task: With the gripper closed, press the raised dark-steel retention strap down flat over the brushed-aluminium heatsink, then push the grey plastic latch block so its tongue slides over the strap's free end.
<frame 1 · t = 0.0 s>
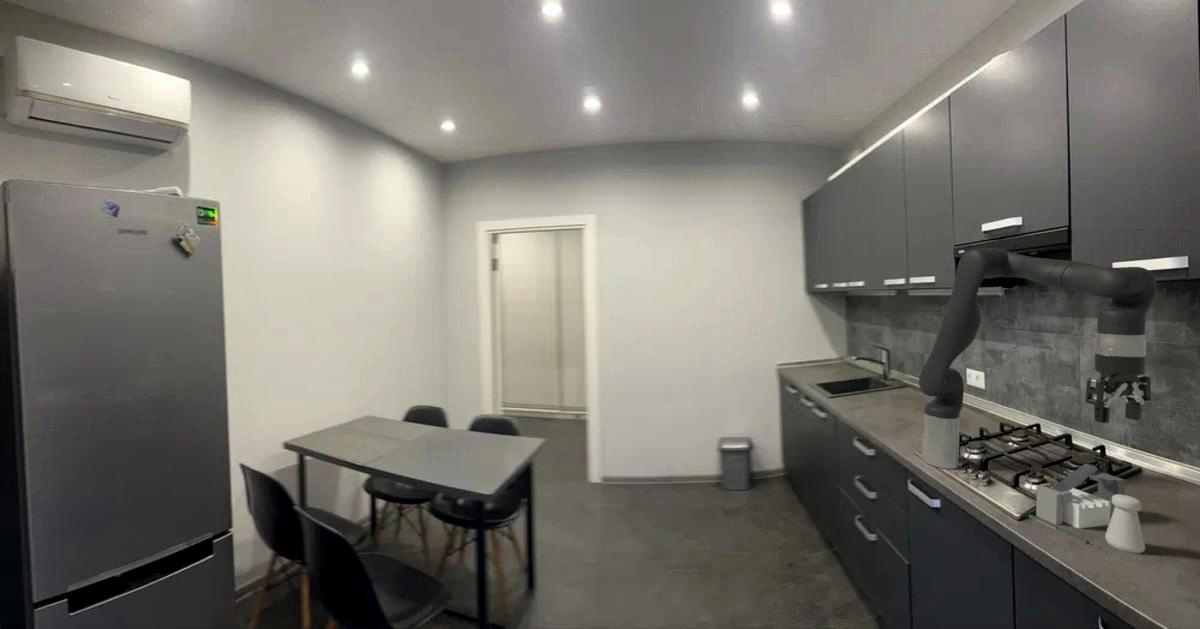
hand: (1117, 420, 99), 29 cm above the countertop, fingers open, 8 cm apart
latch: (1106, 495, 110), point 6 cm above the countertop, slide at 0.0 cm
salt shaker: (1124, 552, 97), on the countertop
strap: (1072, 480, 108), point 11 cm above the countertop, hinge at 30.0°
heatsink base: (1078, 521, 109), on the countertop
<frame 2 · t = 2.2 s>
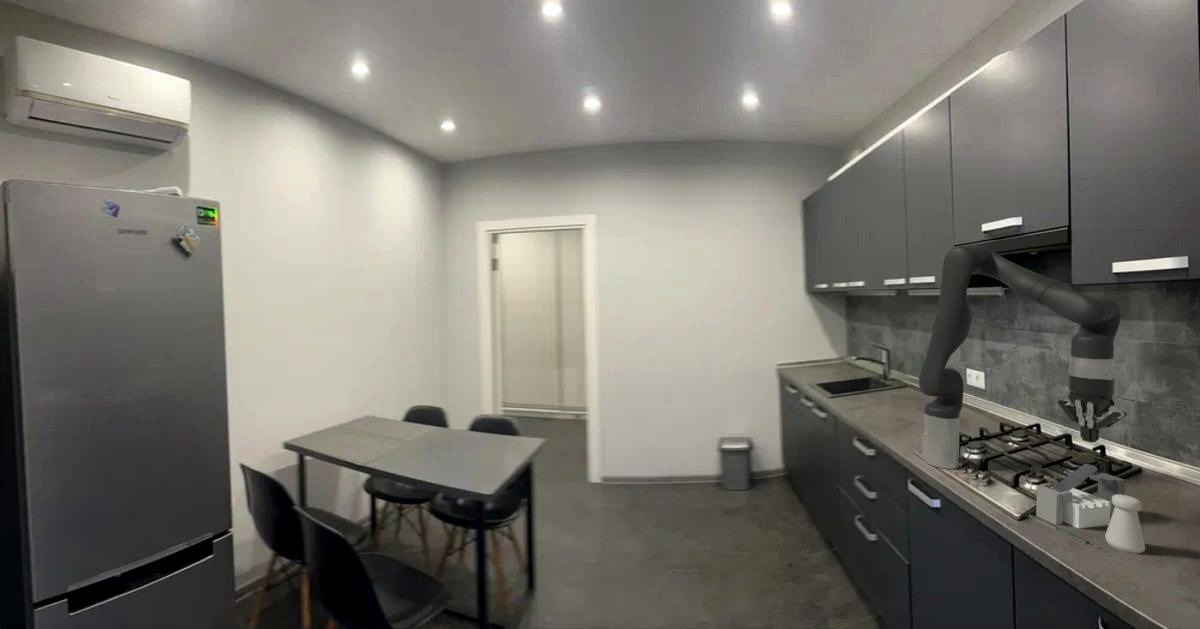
hand: (1089, 441, 108), 21 cm above the countertop, fingers closed
nothing on the countertop moved.
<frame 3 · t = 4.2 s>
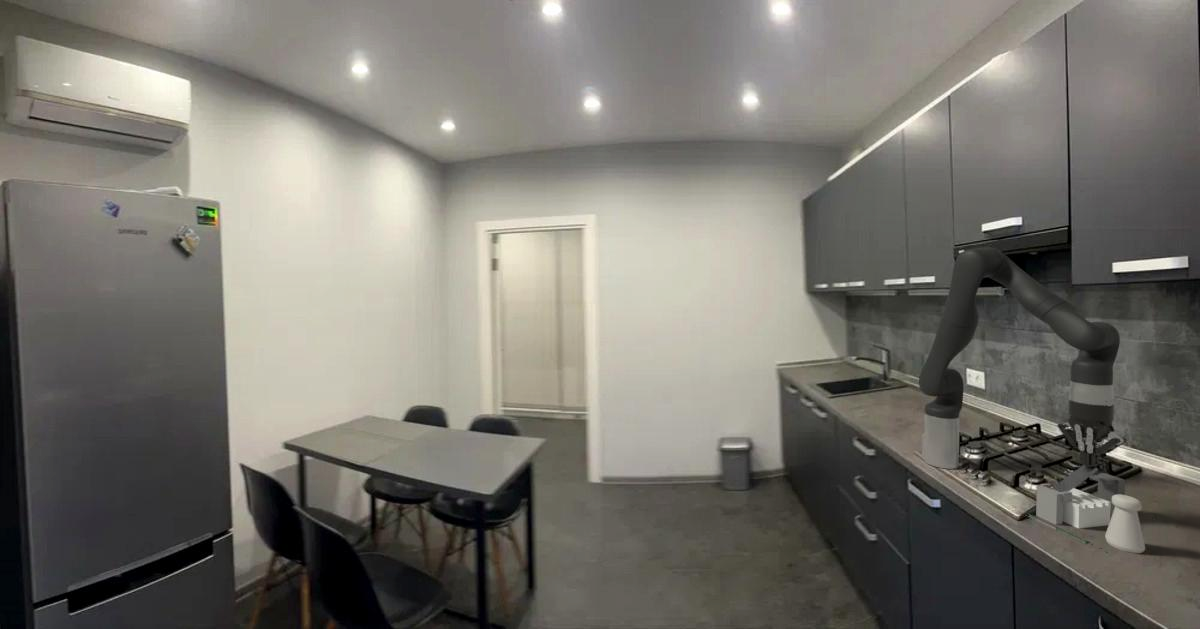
hand: (1089, 465, 108), 15 cm above the countertop, fingers closed
strap: (1072, 480, 108), point 11 cm above the countertop, hinge at 29.2°, touching gripper
everything else where it was.
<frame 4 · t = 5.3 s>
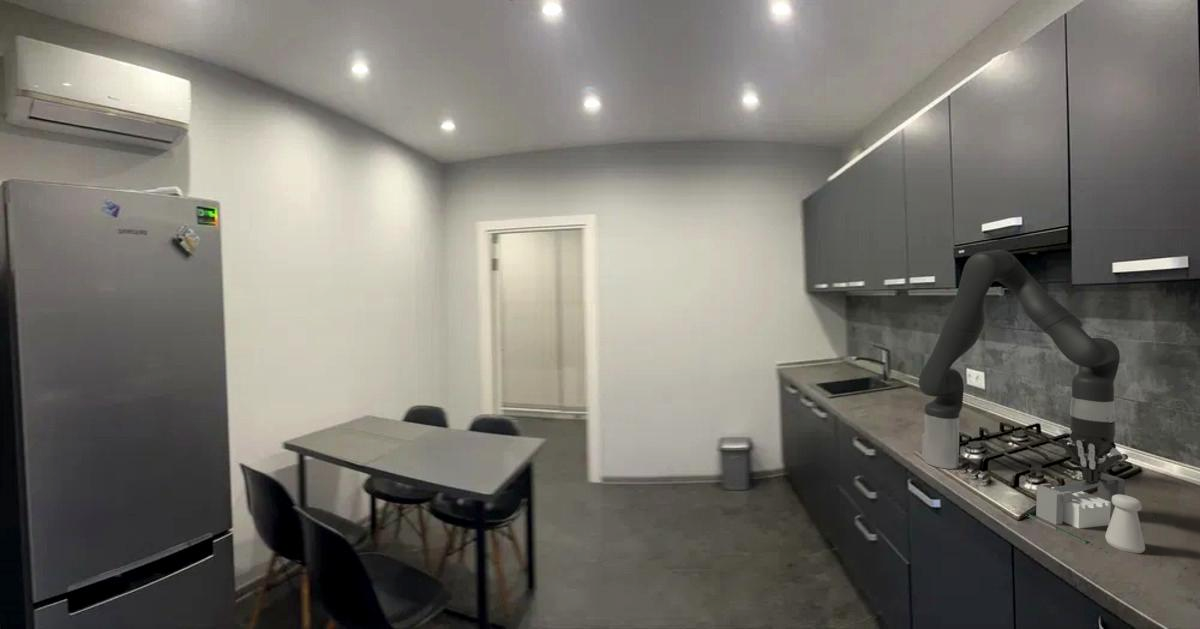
hand: (1091, 481, 109), 10 cm above the countertop, fingers closed
strap: (1074, 487, 108), point 9 cm above the countertop, hinge at 8.6°, touching gripper
everything else where it was.
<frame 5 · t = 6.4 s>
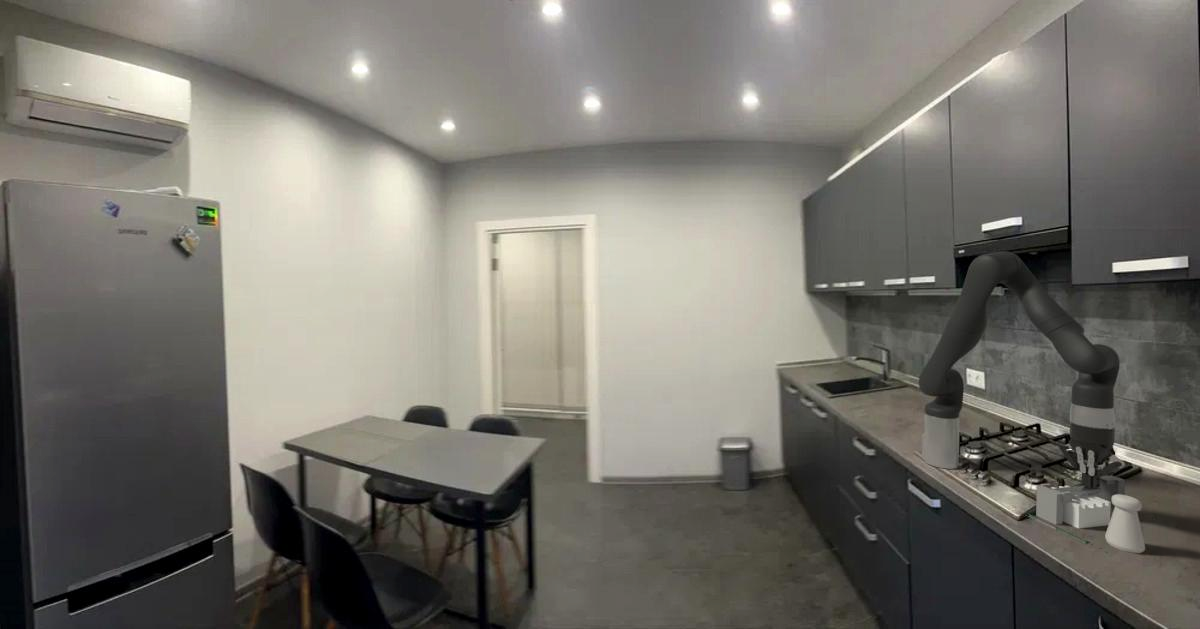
hand: (1090, 488, 109), 9 cm above the countertop, fingers closed
strap: (1075, 490, 108), point 8 cm above the countertop, hinge at -0.2°, touching gripper
everything else where it was.
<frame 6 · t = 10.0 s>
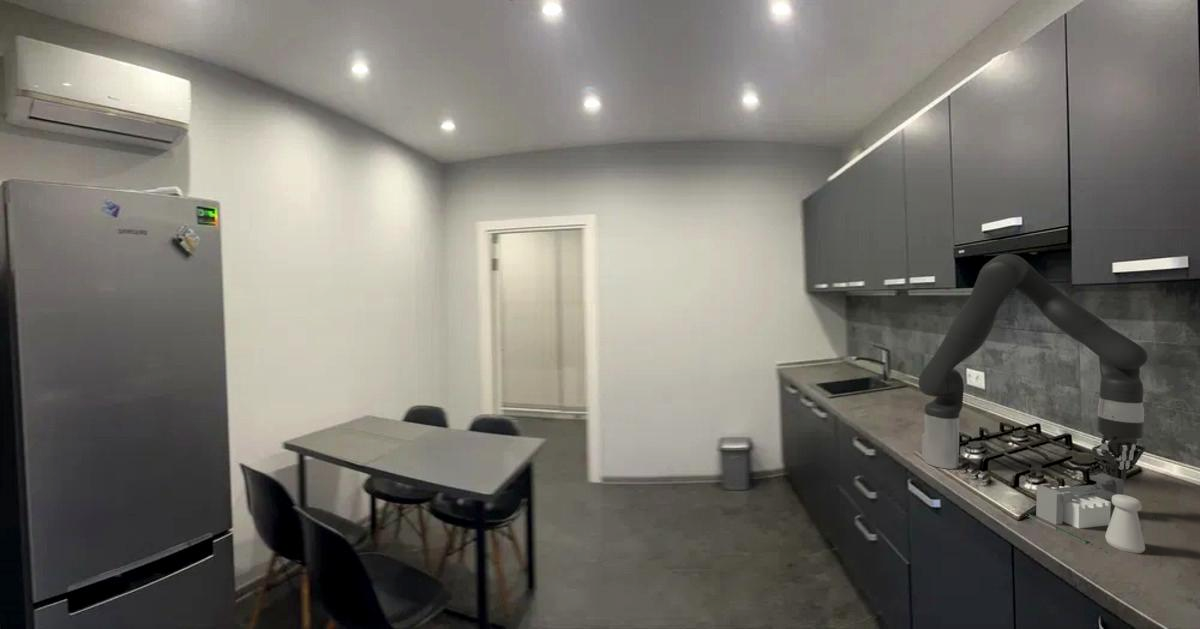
hand: (1117, 481, 110), 9 cm above the countertop, fingers closed
latch: (1105, 495, 109), point 6 cm above the countertop, slide at 0.5 cm, touching gripper
strap: (1075, 490, 108), point 8 cm above the countertop, hinge at -0.2°
everything else where it was.
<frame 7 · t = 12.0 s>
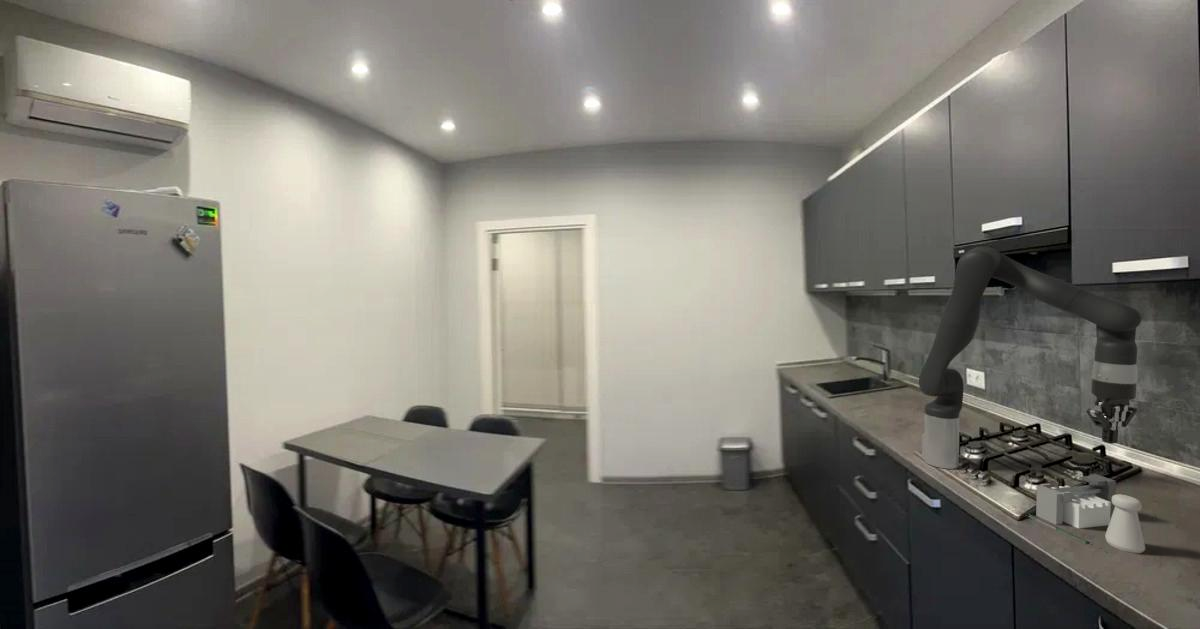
hand: (1109, 442, 112), 19 cm above the countertop, fingers closed
latch: (1097, 496, 109), point 6 cm above the countertop, slide at 2.8 cm
everything else where it was.
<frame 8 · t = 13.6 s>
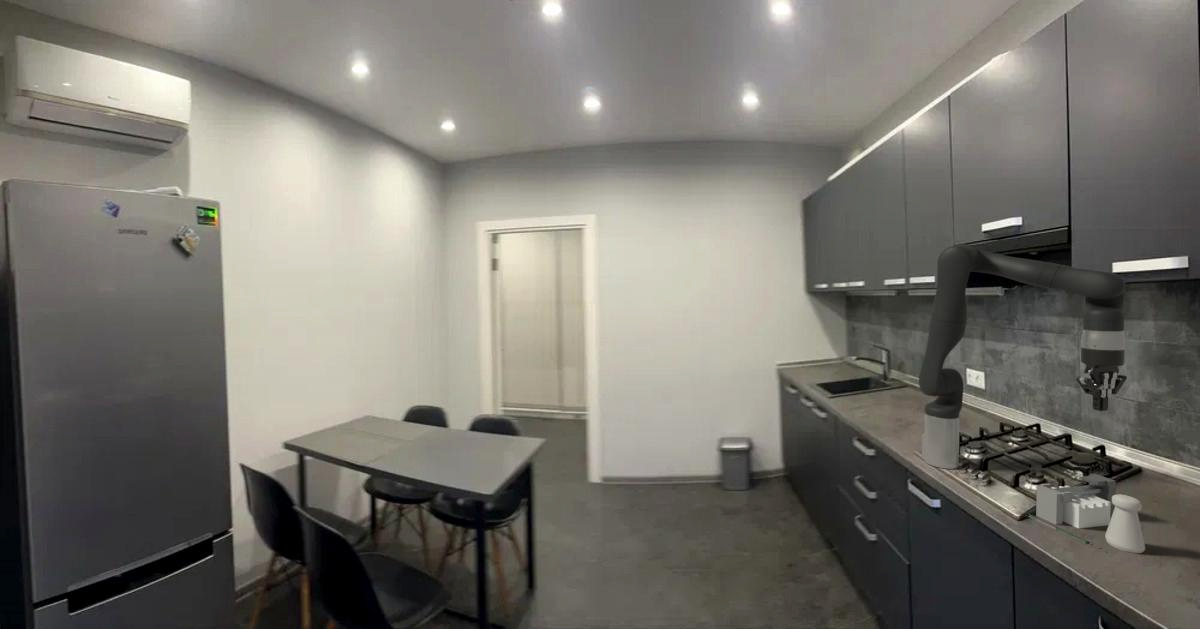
hand: (1100, 410, 114), 27 cm above the countertop, fingers closed
nothing on the countertop moved.
at the end: strap at +0° (first picture: +30°); latch slide at 2.8 cm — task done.
